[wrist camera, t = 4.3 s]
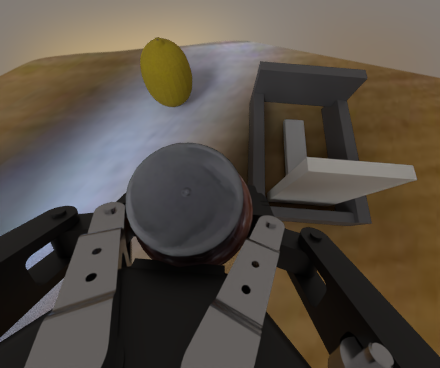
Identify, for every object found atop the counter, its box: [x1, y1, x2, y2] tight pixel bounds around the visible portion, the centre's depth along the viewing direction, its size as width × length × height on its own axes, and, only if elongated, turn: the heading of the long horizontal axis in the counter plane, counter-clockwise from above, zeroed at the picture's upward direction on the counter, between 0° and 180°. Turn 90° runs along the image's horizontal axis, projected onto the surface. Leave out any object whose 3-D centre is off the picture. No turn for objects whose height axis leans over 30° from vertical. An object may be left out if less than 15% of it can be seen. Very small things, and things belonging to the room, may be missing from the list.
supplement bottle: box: [125, 143, 253, 267], centre depth 11 cm, size 6×6×11 cm
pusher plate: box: [267, 119, 417, 206], centre depth 17 cm, size 7×11×9 cm, turn 176°
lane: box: [248, 61, 372, 226], centre depth 19 cm, size 11×16×6 cm
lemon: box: [140, 37, 192, 107], centre depth 20 cm, size 6×6×8 cm
